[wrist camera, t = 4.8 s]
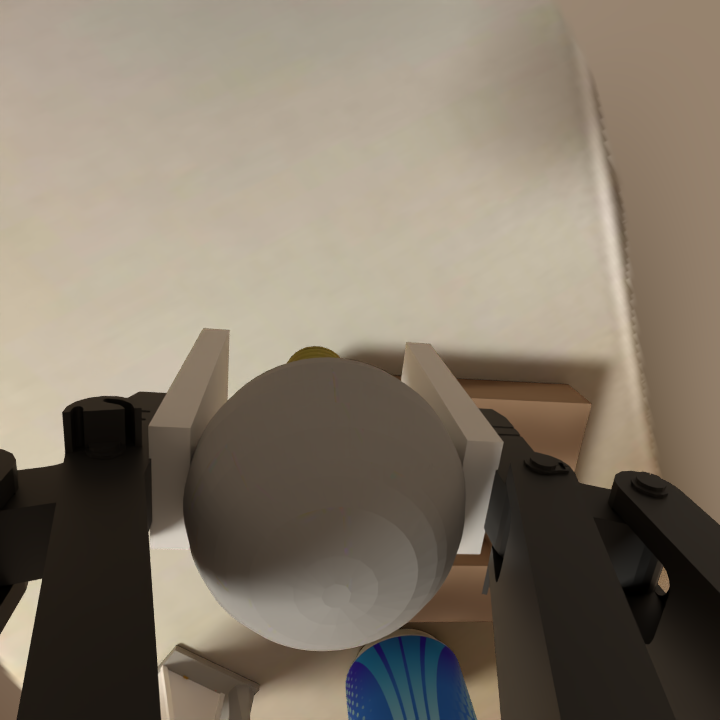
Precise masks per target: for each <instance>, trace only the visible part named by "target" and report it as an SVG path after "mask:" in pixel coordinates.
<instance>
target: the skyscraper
mask: <svg viewBox="0 0 720 720" xmlns="http://www.w3.org/2000/svg"><path fill="white" fill-rule="evenodd" d="M158 680H159V695H160V709H161V720H250V712H251V707H252V702H253V698H254V695H255V694H256V693H257V692H258V691H259V684H257V683H255V682H253V681H250V680H248V679H246V678H244V677H242V676H240V675H238V674H236V673H234V672H232V671H229V670H227V669H225V668H223V667H221V666H219V665H217V664H215V663H213V662H211V661H208V660H206V659H204V658H202V657H200V656H198V655H196V654H194V653H192V652H190V651H188V650H185V649H183V648H181V647H179V646H177V645H176V646H175V648H174V649H173V650H172V651H171V652H170V653H169V655H168V656H167V657H166V658H165V659H164V660H163V662H162V663H161V664H160V665H159V666H158Z"/></svg>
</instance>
